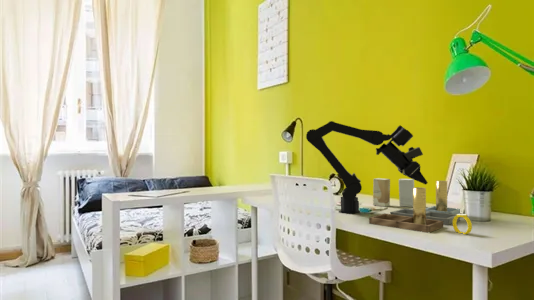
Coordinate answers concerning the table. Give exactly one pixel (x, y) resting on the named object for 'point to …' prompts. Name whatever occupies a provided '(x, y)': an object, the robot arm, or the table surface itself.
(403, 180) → the skincare box
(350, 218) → the table surface
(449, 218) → the tray
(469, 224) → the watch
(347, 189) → the robot arm
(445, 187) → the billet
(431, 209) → the tray
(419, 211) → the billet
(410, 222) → the tray
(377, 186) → the skincare box
